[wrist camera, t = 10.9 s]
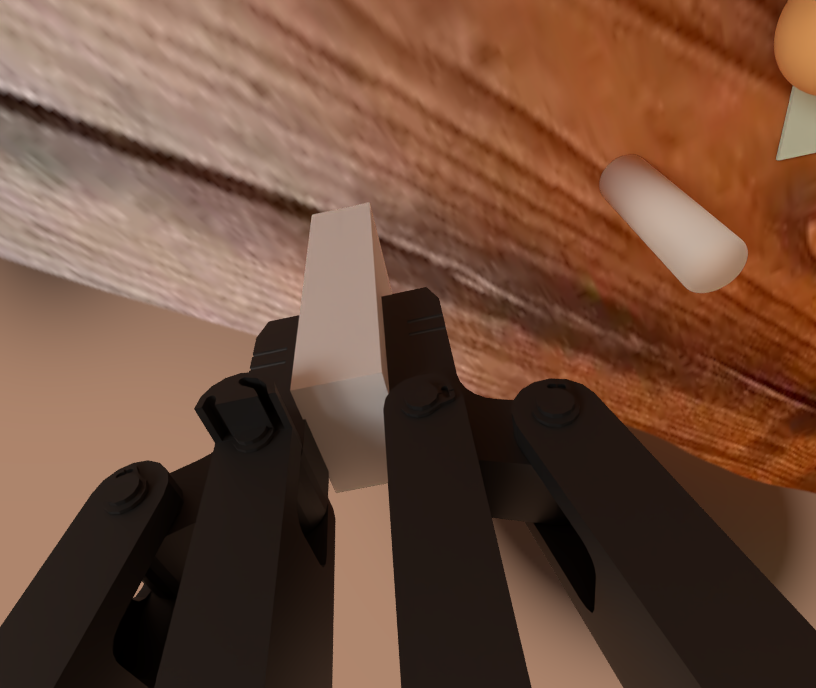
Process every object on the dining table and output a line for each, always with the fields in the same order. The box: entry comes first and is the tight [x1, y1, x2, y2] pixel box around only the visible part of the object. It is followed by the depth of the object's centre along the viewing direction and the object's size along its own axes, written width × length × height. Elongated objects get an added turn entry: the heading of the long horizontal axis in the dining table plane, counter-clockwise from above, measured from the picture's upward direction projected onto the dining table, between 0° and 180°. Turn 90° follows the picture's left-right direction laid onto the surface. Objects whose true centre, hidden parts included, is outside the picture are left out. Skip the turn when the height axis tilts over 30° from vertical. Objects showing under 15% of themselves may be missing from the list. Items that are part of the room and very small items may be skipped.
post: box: [599, 154, 748, 293], centre depth 25 cm, size 3×3×9 cm
